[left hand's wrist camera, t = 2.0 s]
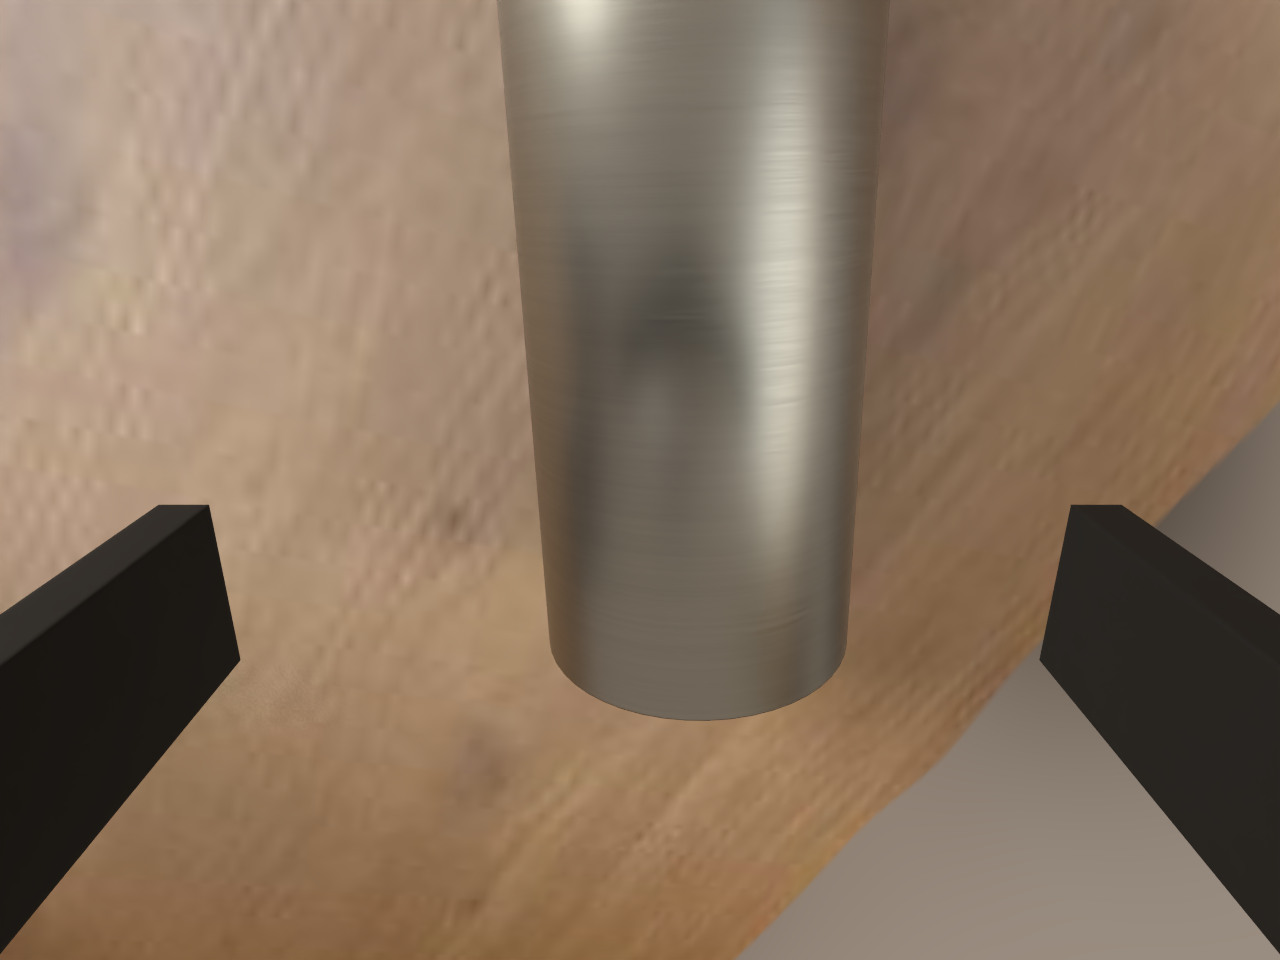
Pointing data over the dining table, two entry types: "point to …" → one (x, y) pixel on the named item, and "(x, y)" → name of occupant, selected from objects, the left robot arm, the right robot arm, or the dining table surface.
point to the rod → (695, 334)
